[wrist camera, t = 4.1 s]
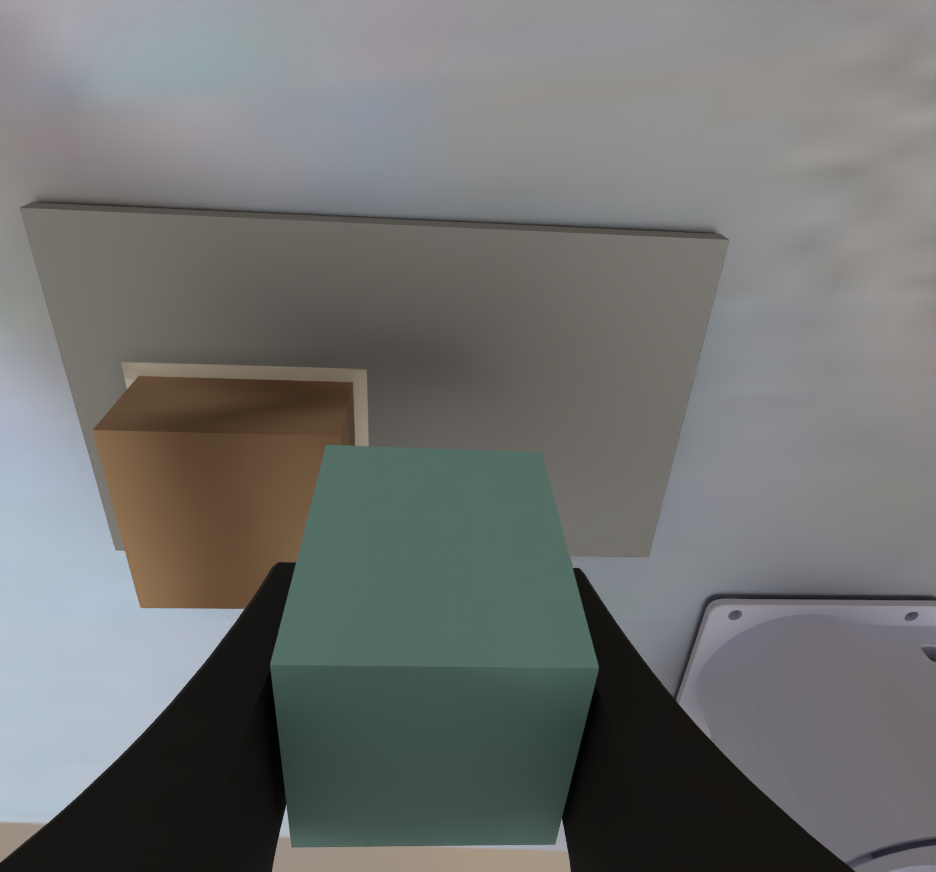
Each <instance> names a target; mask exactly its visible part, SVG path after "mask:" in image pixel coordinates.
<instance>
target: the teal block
mask: <svg viewBox="0 0 936 872" xmlns="http://www.w3.org/2000/svg"><path fill="white" fill-rule="evenodd" d="M270 668H271V677H272V685H273V694H274V702H275V711H276V719H277V728H278V736H279V745H280V753H281V761H282V770H283V778H284V787H285V795H286V804H287V812H288V821H289V829H290V838H291V845H292V847H367V846H369V847H371V846H464V845H555V843H556V839H557V835H558V831H559V827H560V823H561V819H562V815H563V811H564V807H565V803H566V799H567V795H568V791H569V787H570V783H571V779H572V775H573V771H574V767H575V763H576V759H577V755H578V751H579V747H580V743H581V739H582V735H583V731H584V727H585V723H586V719H587V715H588V711H589V707H590V703H591V699H592V695H593V691H594V686H595V682H596V678H597V674H598V670H599V666H598V662H597V658H596V655H595V651H594V647H593V643H592V639H591V636H590V632H589V628H588V624H587V621H586V617H585V613H584V609H583V605H582V602H581V598H580V594H579V590H578V586H577V583H576V579H575V575H574V571H573V568H572V564H571V560H570V556H569V552H568V549H567V545H566V541H565V537H564V534H563V530H562V526H561V522H560V518H559V515H558V511H557V507H556V503H555V500H554V496H553V492H552V488H551V484H550V481H549V477H548V473H547V469H546V465H545V462H544V458H543V454H542V452H520V451H491V450H462V449H433V448H404V447H375V446H345V445H326V447H325V451H324V455H323V459H322V463H321V467H320V471H319V475H318V479H317V483H316V487H315V491H314V495H313V498H312V502H311V506H310V510H309V514H308V518H307V522H306V526H305V530H304V534H303V538H302V542H301V546H300V550H299V553H298V557H297V561H296V565H295V569H294V573H293V577H292V581H291V585H290V589H289V593H288V597H287V601H286V604H285V608H284V612H283V616H282V620H281V624H280V628H279V632H278V636H277V640H276V644H275V648H274V652H273V656H272V659H271V663H270Z"/></svg>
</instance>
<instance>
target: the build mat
mask: <svg viewBox="0 0 936 872" xmlns="http://www.w3.org/2000/svg"><path fill="white" fill-rule="evenodd" d="M20 210H21V214H22V217H23V221H24V224H25V228H26V232H27V235H28V239H29V242H30V246H31V249H32V253H33V257H34V260H35V264H36V267H37V271H38V275H39V278H40V282H41V285H42V289H43V292H44V296H45V300H46V303H47V307H48V310H49V314H50V317H51V321H52V325H53V328H54V332H55V335H56V339H57V342H58V346H59V350H60V353H61V357H62V360H63V364H64V368H65V371H66V375H67V378H68V382H69V385H70V389H71V393H72V396H73V400H74V403H75V407H76V410H77V414H78V418H79V421H80V425H81V428H82V432H83V436H84V439H85V443H86V446H87V450H88V453H89V457H90V461H91V464H92V468H93V471H94V475H95V478H96V482H97V486H98V489H99V493H100V496H101V500H102V503H103V507H104V511H105V514H106V518H107V521H108V525H109V529H110V532H111V536H112V539H113V543H114V546H115V550H125V549H124V545H123V541H122V538H121V534H120V530H119V526H118V523H117V519H116V515H115V512H114V508H113V504H112V501H111V497H110V493H109V489H108V486H107V482H106V478H105V475H104V471H103V467H102V464H101V460H100V456H99V452H98V449H97V445H96V441H95V438H94V434H93V429H94V428H95V427H96V425H97V424H98V423H99V422H100V421H101V419H102V418H103V417H104V416H105V415H106V414H107V412H108V411H109V410H110V409H111V408H112V407H113V405H114V404H115V403H116V402H117V401H118V399H119V398H120V397H121V396H122V395H123V394H124V392H125V391H126V390H127V389H128V388H129V386H130V385H131V384H132V383H133V382H134V381H135V379H136V378H137V377H138V376H159V377H193V378H226V379H260V380H294V381H328V382H353V397H354V425H355V446H375V447H404V448H433V449H462V450H491V451H520V452H542V454H543V458H544V462H545V465H546V469H547V473H548V477H549V481H550V484H551V488H552V492H553V496H554V500H555V503H556V507H557V511H558V515H559V518H560V522H561V526H562V530H563V534H564V537H565V541H566V545H567V549H568V552H569V556H602V557H649V553H650V549H651V545H652V541H653V537H654V533H655V529H656V525H657V521H658V518H659V514H660V510H661V506H662V502H663V498H664V494H665V490H666V486H667V482H668V478H669V474H670V470H671V466H672V462H673V459H674V455H675V451H676V447H677V443H678V439H679V435H680V431H681V427H682V423H683V419H684V415H685V411H686V407H687V403H688V400H689V396H690V392H691V388H692V384H693V380H694V376H695V372H696V368H697V364H698V360H699V356H700V352H701V348H702V344H703V341H704V337H705V333H706V329H707V325H708V321H709V317H710V313H711V309H712V305H713V301H714V297H715V293H716V289H717V285H718V282H719V278H720V274H721V270H722V266H723V262H724V258H725V254H726V250H727V246H728V242H729V240H728V239H727V238H726V237H724V236H723V235H721V234H710V233H688V232H666V231H644V230H622V229H601V228H579V227H557V226H535V225H513V224H491V223H470V222H448V221H426V220H404V219H382V218H361V217H339V216H317V215H295V214H273V213H251V212H230V211H208V210H186V209H164V208H142V207H121V206H99V205H77V204H55V203H33V202H32V203H30V204H28V205H25V206H23V207H21V208H20Z"/></svg>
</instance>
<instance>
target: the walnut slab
mask: <svg viewBox="0 0 936 872" xmlns="http://www.w3.org/2000/svg"><path fill="white" fill-rule="evenodd" d="M93 434H94V438H95V441H96V445H97V449H98V452H99V456H100V460H101V464H102V467H103V471H104V475H105V478H106V482H107V486H108V489H109V493H110V497H111V501H112V504H113V508H114V512H115V515H116V519H117V523H118V526H119V530H120V534H121V538H122V541H123V545H124V549H125V552H126V556H127V560H128V563H129V567H130V571H131V575H132V578H133V582H134V586H135V589H136V593H137V597H138V600H139V604H140V608H218V609H245V608H246V607H247V605H248V604H249V602H250V601H251V599H252V598H253V596H254V595H255V593H256V592H257V590H258V589H259V587H260V586H261V584H262V583H263V581H264V579H265V578H266V576H267V575H268V573H269V571H270V570H271V568H272V567H273V566H274V565H275V564H276V563H278V562H296V561H297V557H298V553H299V550H300V546H301V542H302V538H303V534H304V530H305V526H306V522H307V518H308V514H309V510H310V506H311V502H312V498H313V495H314V491H315V487H316V483H317V479H318V475H319V471H320V467H321V463H322V459H323V455H324V451H325V447H326V445H345V446H355V425H354V397H353V382H328V381H294V380H260V379H226V378H193V377H159V376H138V377H137V378H136V379H135V381H134V382H133V383H132V384H131V385H130V386H129V388H128V389H127V390H126V391H125V392H124V394H123V395H122V396H121V397H120V398H119V399H118V401H117V402H116V403H115V404H114V405H113V407H112V408H111V409H110V410H109V411H108V412H107V414H106V415H105V416H104V417H103V418H102V419H101V421H100V422H99V423H98V424H97V425H96V427H95V428H94V429H93Z"/></svg>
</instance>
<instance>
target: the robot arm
mask: <svg viewBox="0 0 936 872" xmlns="http://www.w3.org/2000/svg"><path fill="white" fill-rule="evenodd" d="M295 565H296V562H278V563H276V564H275V565H274V566H273V567H272V568H271V570H270V571H269V573H268V575H267V576H266V578H265V579H264V581H263V583H262V584H261V586H260V587H259V589H258V590H257V592H256V593H255V595H254V596H253V598H252V599H251V601H250V602H249V604H248V605H247V607H246V608H245V609H244V611H243V612H242V614H241V615H240V617H239V618H238V619H237V621H236V622H235V624H234V625H233V626H232V628H231V629H230V630H229V632H228V633H227V634H226V635H225V637H224V638H223V639H222V641H221V642H220V643H219V645H218V646H217V647H216V649H215V650H214V651H213V653H212V654H211V655H210V657H209V658H208V659H207V660H206V662H205V663H204V664H203V665H202V667H201V668H200V669H199V670H198V671H197V672H196V674H195V675H194V676H193V677H192V678H191V680H190V681H189V682H188V683H187V684H186V685H185V687H184V688H183V689H182V690H181V691H180V693H179V694H178V695H177V696H176V697H175V699H174V700H173V701H172V702H171V703H170V704H169V705H168V707H167V708H166V709H165V710H164V711H163V712H162V713H161V714H160V715H159V716H158V718H157V719H156V720H155V721H154V722H153V723H152V724H151V725H150V726H149V727H148V728H147V729H146V730H145V732H144V733H143V734H142V735H141V736H140V737H139V738H138V739H137V740H136V741H135V742H134V743H133V744H132V745H131V746H130V747H129V748H128V749H127V750H126V751H125V752H124V753H123V754H122V755H121V756H120V757H119V758H118V759H117V760H116V761H115V762H114V763H113V764H112V765H111V766H110V767H109V768H108V769H107V770H105V771H104V772H103V773H102V774H101V775H100V776H99V777H98V778H97V779H96V780H95V781H94V782H93V783H92V784H91V785H90V786H89V787H88V788H86V789H85V790H84V791H83V792H82V793H81V794H80V795H79V796H78V797H77V798H76V799H75V800H74V801H72V802H71V803H70V804H69V805H68V806H67V807H66V808H65V809H64V810H62V811H61V812H60V813H59V814H58V815H57V816H56V817H54V818H53V819H52V820H51V821H50V822H49V823H47V824H46V825H45V826H44V827H43V828H41V829H40V830H39V831H38V832H37V833H35V834H34V835H33V836H32V837H31V838H29V839H28V840H27V841H26V842H25V843H23V844H22V845H21V846H20V847H19V848H17V849H16V850H15V851H14V852H13V853H11V854H10V855H9V856H8V857H7V858H5V859H4V860H3V861H2V862H0V872H272V867H273V861H274V856H275V851H276V847H277V841H278V837H279V832H280V828H281V824H282V820H283V816H284V812H285V808H286V795H285V787H284V778H283V770H282V761H281V753H280V745H279V736H278V728H277V719H276V711H275V702H274V694H273V685H272V677H271V668H270V663H271V659H272V656H273V652H274V648H275V644H276V640H277V636H278V632H279V628H280V624H281V620H282V616H283V612H284V608H285V604H286V601H287V597H288V593H289V589H290V585H291V581H292V577H293V573H294V569H295ZM573 571H574V575H575V579H576V583H577V586H578V590H579V594H580V598H581V602H582V605H583V609H584V613H585V617H586V621H587V624H588V628H589V632H590V636H591V639H592V643H593V647H594V651H595V655H596V658H597V662H598V666H599V670H598V674H597V678H596V682H595V686H594V691H593V695H592V699H591V703H590V707H589V711H588V715H587V719H586V723H585V727H584V731H583V735H582V739H581V743H580V747H579V751H578V755H577V759H576V763H575V767H574V771H573V775H572V779H571V783H570V787H569V791H568V795H567V799H566V803H565V807H564V811H563V815H562V821H563V825H564V831H565V836H566V842H567V848H568V853H569V859H570V868H571V872H936V601H920V600H801V599H717V600H714V601H712V602H711V603H710V604H709V605H708V606H707V608H706V610H705V614H704V617H703V620H702V623H701V626H700V629H699V632H698V635H697V638H696V641H695V644H694V647H693V650H692V653H691V656H690V659H689V662H688V665H687V668H686V671H685V674H684V677H683V680H682V683H681V686H680V689H679V693H678V696H677V699H676V700H675V699H674V698H673V696H672V695H671V694H670V693H669V692H668V690H667V689H666V688H665V687H664V686H663V684H662V683H661V682H660V681H659V679H658V678H657V677H656V676H655V674H654V673H653V672H652V670H651V669H650V668H649V667H648V665H647V664H646V662H645V661H644V660H643V658H642V657H641V656H640V654H639V653H638V652H637V650H636V649H635V648H634V646H633V645H632V644H631V642H630V641H629V640H628V638H627V637H626V636H625V634H624V633H623V631H622V630H621V629H620V627H619V626H618V624H617V623H616V621H615V620H614V618H613V617H612V615H611V614H610V612H609V611H608V610H607V608H606V607H605V605H604V604H603V602H602V601H601V599H600V597H599V596H598V594H597V593H596V591H595V590H594V588H593V587H592V585H591V583H590V582H589V580H588V579H587V577H586V575H585V574H584V573H583V572H582V571H581V569H580V568H573ZM732 611H734V612H732ZM709 738H712V739H713V741H714V743H713V742H712V741H711V740H710V739H709Z"/></svg>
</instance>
